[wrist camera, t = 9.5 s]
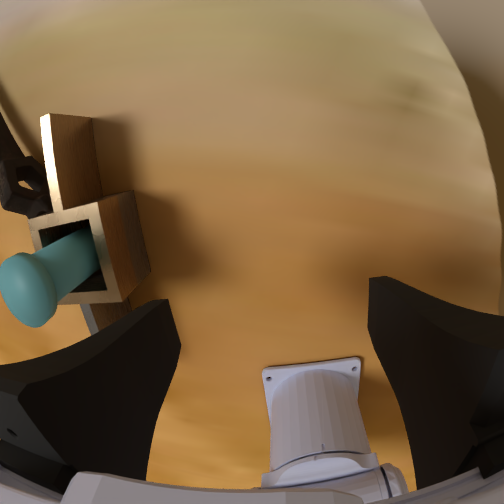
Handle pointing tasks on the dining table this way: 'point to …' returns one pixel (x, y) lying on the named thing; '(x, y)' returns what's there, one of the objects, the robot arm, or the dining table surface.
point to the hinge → (101, 221)
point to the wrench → (21, 179)
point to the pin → (47, 276)
